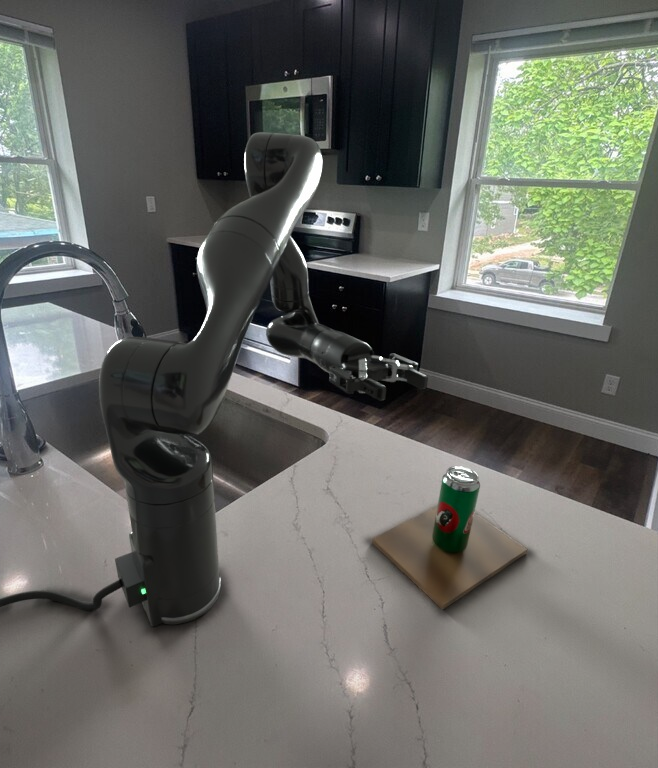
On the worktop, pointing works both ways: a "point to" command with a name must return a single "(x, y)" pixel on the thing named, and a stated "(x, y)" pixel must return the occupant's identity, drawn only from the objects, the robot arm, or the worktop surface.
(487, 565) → the wooden board
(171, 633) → the worktop surface
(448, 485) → the soda can
